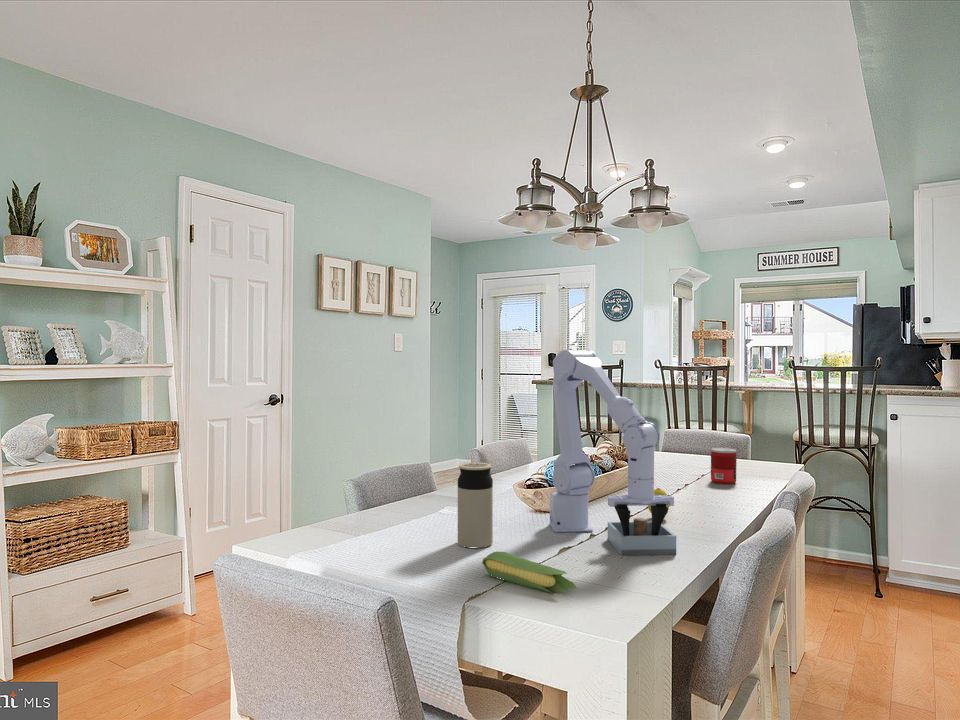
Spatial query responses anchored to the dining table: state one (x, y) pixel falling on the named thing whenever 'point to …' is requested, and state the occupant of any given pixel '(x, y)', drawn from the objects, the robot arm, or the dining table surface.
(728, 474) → the canned food
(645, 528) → the peg
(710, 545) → the dining table surface
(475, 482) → the travel mug
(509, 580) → the edible corn
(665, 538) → the tray
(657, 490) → the lemon
